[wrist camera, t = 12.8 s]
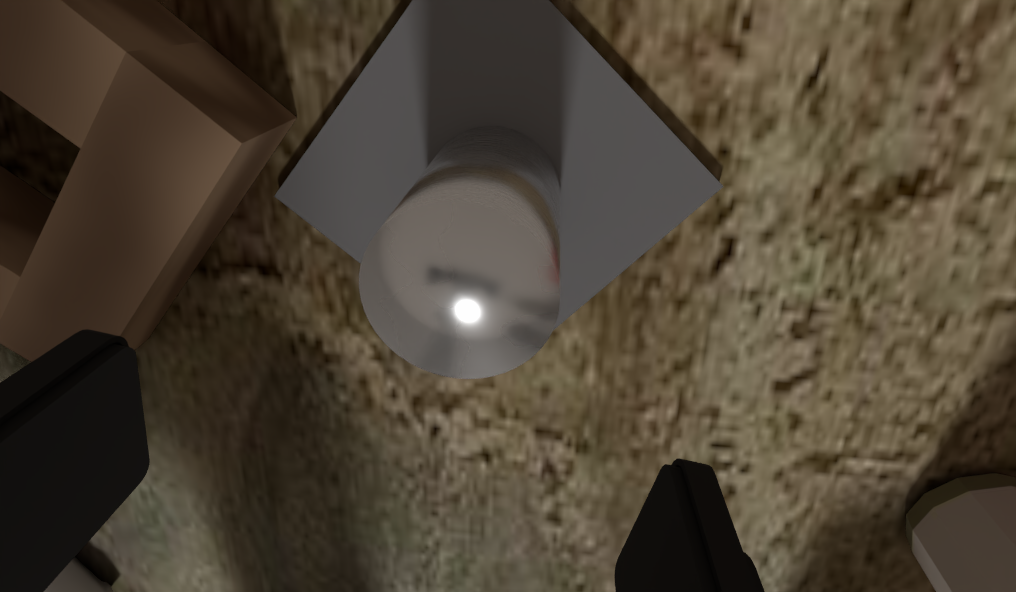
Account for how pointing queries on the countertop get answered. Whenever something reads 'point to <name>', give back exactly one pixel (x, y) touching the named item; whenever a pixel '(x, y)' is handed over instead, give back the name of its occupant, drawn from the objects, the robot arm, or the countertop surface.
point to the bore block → (120, 165)
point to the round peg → (470, 258)
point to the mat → (506, 103)
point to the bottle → (967, 534)
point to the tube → (77, 580)
